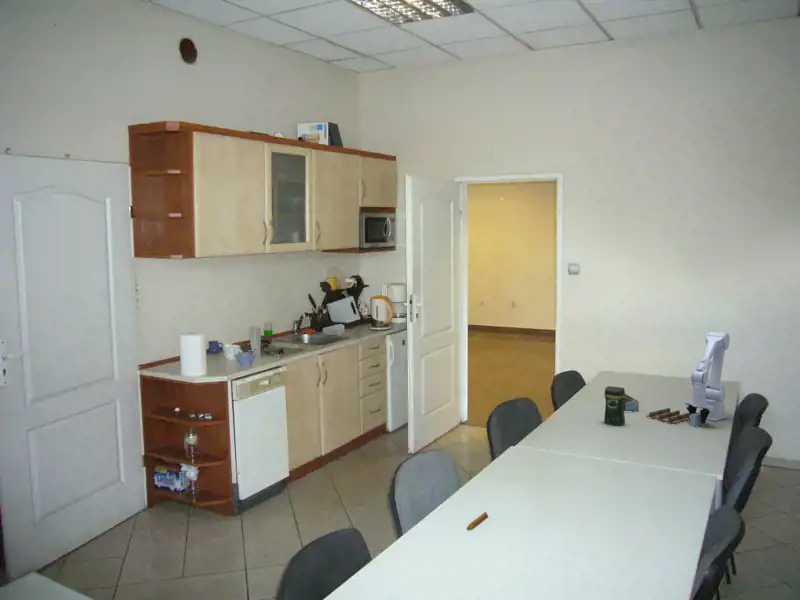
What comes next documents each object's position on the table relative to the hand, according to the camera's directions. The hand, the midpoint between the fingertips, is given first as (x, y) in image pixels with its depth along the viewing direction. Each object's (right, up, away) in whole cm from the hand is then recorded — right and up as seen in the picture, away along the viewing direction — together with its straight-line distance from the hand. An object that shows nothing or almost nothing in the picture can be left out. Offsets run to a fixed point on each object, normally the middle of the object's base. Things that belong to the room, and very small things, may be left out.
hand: (698, 422), depth 336 cm
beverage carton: (-25, +1, +35) cm, 43 cm away
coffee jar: (-40, -2, +5) cm, 40 cm away
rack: (-10, 0, +12) cm, 15 cm away
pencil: (-120, -16, -105) cm, 160 cm away
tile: (0, -2, 0) cm, 2 cm away
